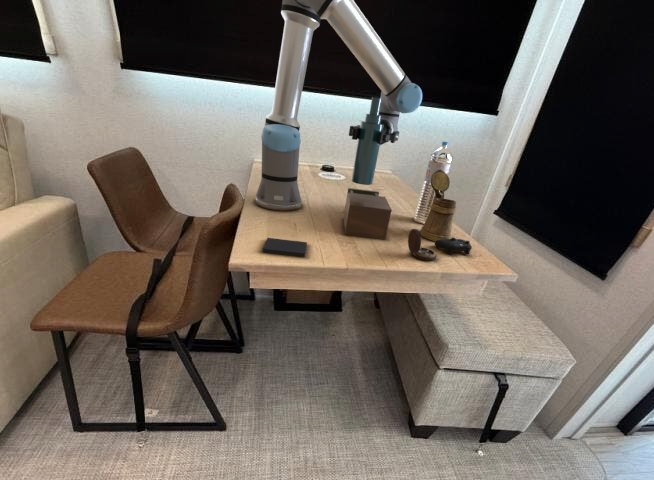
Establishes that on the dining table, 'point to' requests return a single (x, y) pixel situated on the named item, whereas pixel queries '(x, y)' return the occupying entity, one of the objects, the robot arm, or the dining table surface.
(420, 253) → the compass
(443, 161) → the water bottle
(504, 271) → the dining table surface
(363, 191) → the drawer
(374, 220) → the brown wooden box
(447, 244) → the game controller
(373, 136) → the bottle
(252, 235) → the dining table surface
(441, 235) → the wooden mug
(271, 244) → the mat
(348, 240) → the dining table surface
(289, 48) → the robot arm
